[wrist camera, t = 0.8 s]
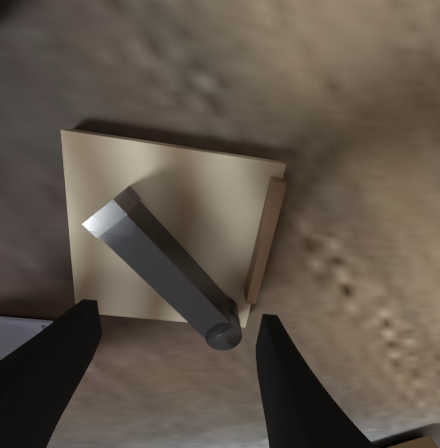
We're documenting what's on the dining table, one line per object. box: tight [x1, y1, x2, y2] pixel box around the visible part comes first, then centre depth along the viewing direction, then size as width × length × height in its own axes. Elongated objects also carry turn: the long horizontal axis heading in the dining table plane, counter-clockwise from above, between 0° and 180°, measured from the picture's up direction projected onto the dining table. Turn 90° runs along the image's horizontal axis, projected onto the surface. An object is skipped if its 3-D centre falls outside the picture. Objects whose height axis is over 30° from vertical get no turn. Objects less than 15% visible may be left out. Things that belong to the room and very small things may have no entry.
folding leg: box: [82, 186, 242, 350], centre depth 19 cm, size 14×3×3 cm, turn 36°
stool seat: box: [61, 129, 287, 328], centre depth 20 cm, size 15×15×3 cm
